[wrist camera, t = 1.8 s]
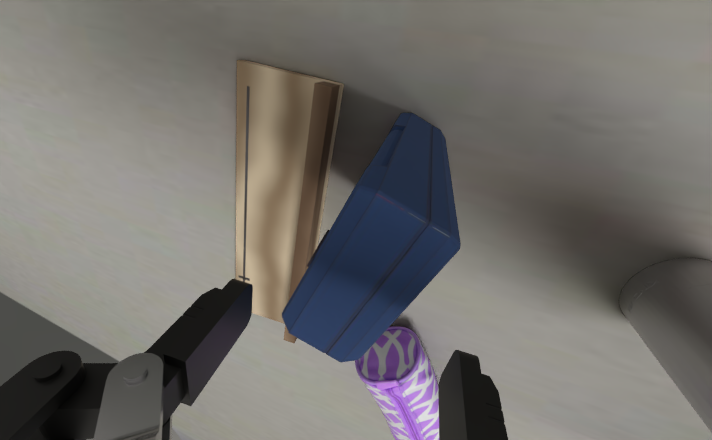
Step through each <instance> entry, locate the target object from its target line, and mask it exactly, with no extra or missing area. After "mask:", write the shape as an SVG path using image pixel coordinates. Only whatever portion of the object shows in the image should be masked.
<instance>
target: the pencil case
mask: <svg viewBox="0 0 712 440" xmlns="http://www.w3.org/2000/svg"><path fill="white" fill-rule="evenodd" d="M355 365H356V369H357V373H358V375H359V377H360V378H361V380H362V381H363V382H365V385H366V387H367V389H368V390H369V391H370V392H371V393H372V395H373V397H374V399H375V400H376V402H377V403H378V405H379V407H380V408H381V410H382V412H383V414H384V416H385V418H386V421H387V423H388V425H389V427H390V430H391V432H392V434H393V436H394V438H395V440H439V397H438V390H439V387H438V383H437V380H436V376H435V373H434V370H433V367H432V365H431V363H430V361H429V359H428V356H427V354H426V352H425V350H424V349H423V347H422V345H421V342H420V339H419V338H418V336H417V335H416V334H415V332H413V331H412V330H410V329H408V328H406V327H396V326H392V327H389V328H388V329H387V330H386V331H385V332H384V333H383V334H382V335H381V336H380V337H379V339H378V340H377V341H376V342H375V343H374V344H373V345H372V346H371V347H370V348H369V350H368V351H367V352H366V353H365V354H364V355H363V356H362V357H361V358H360V359H358V360H355Z"/></svg>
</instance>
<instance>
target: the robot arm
mask: <svg viewBox="0 0 712 440" xmlns="http://www.w3.org/2000/svg"><path fill="white" fill-rule="evenodd" d="M252 295H253V286H252V284H249V283H246V282H243V281H240V280H236V279H232V280H230V281H229V282H228V284H227V285H226V286H225V287H224V288H223V289H222V290H221V289H218V288H214V289H212V290H210V291H208V292H206V293H204V294H202V295H201V296H200V297H199V298H198V299H197V300H196V301H195V302H194V303H193V304H192V306H191V307H189V308H188V309H187V310H186V311H185V313H184V314H183V316H181V317H180V318H179V319H178V320H177V321H176V322H175V323H174V324H173V325H172V326H171V327H170V328H169V329H168V330H167V331H166V332H165V333H164V334H163V335H162V336H161V337H160V338H159V339H158V340H157V341H156V342H155V343H154V344H153V345H152V346H151V347H150V348H149V349H148V350H147V351H146V352H144V353H139V354H135V355H132V356H129V357H127V358H125V359H124V360H122V361H120V362H119V363H112V364H110V363H106V364H105V363H103V364H102V363H82V361H81V358H80V356H79V355H78V354H76V353H74V352H71V351H57V352H53V353H49V354H46V355H44V356H41V357H39V358H38V359H36V360H34V361H32V362H31V363H29V364H28V365H27V366H25V367H24V368H23V369H22V370H21V371H19V372H18V373H17V374H15V375H14V376H13V377H12V378H10V379H9V380H8V381H7V382H5V383H4V384H3V385H2V386H1V387H0V440H86V439H91V438H94V440H171V437H172V414H173V412H174V411H175V409H176V408H177V407H178V405H179V404H180V403H184V404H186V405H189V406H191V405H192V404H193V403H194V401H195V400H196V398H197V397H198V395H199V394H200V392H201V391H202V390H203V388H204V387H205V385H206V384H207V382H208V381H209V380H210V378H211V377H212V375H213V374H214V372H215V371H216V369H217V368H218V367H219V365H220V364H221V362H222V361H223V359H224V358H225V357H226V355H227V354H228V352H229V351H230V349H231V348H232V346H233V345H234V344H235V342H236V341H237V339H238V338H239V336H240V335H241V333H242V332H243V331H244V329H245V328H246V326H247V324H248V322H249V320H250V317H251V313H252ZM619 305H620V308H621V311H622V313H623V314H624V315H625V317H626V318H627V319H628V321H629V322H630V323H631V325H632V326H633V327H634V329H635V330H636V332H637V333H638V334H639V336H640V337H641V338H642V340H643V341H644V343H645V344H646V345H647V347H648V348H649V349H650V351H651V352H652V353H653V355H654V356H655V357H656V359H657V360H658V361H659V363H660V364H661V365H662V367H663V368H664V369H665V371H666V372H667V373H668V375H669V376H670V377H671V379H672V380H673V381H674V383H675V384H676V385H677V387H678V388H679V390H680V391H681V392H682V394H683V395H684V396H685V398H686V399H687V400H688V402H689V403H690V404H691V406H692V407H693V408H694V410H695V411H696V412H697V414H698V415H699V416H700V418H701V419H702V420H703V422H704V423H705V424H706V426H707V427H708V428H709V430H710V431H711V432H712V261H708V260H705V259H697V258H678V259H672V260H667V261H663V262H660V263H657V264H654V265H651V266H649V267H647V268H645V269H643V270H642V271H640V272H639V273H637V274H636V275H634V276H633V277H632V278H631V279H630V280H629V281H628V282H627V283H626V284H625V286H624V288H623V289H622V291H621V294H620V297H619ZM438 397H439V440H508V437H507V432H506V427H505V425H504V417H503V412H502V411H501V409H502V407H501V402H500V397H499V392H498V390H497V388H496V387H495V385H494V383H493V381H492V379H491V378H490V376H487V375H484V374H481V369H480V363H479V359H478V357H477V356H475V355H472V354H469V353H465V352H462V351H459V350H455V351H454V353H453V355H452V356H451V358H450V360H449V362H448V364H447V366H446V367H445V369H444V371H443V373H442V375H441V378H440V382H439V390H438Z"/></svg>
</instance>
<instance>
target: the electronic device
mask: <svg viewBox="0 0 712 440" xmlns="http://www.w3.org/2000/svg"><path fill="white" fill-rule="evenodd" d="M459 249H460V237H459V230H458V223H457V216H456V209H455V203H454V196H453V189H452V182H451V175H450V168H449V161H448V154H447V148H446V141H445V137H444V136H443V134H442V132H441V130H439V129H438V128H436V127H434V126H433V125H431V124H429V123H428V122H426V121H425V120H423V119H421V118H420V117H418V116H416V115H415V114H413V113H401V114H400V116H399V118H398V119H397V121H396V122H395V124H394V126H393V127H392V129H391V131H390V132H389V134H388V136H387V137H386V139H385V141H384V142H383V144H382V146H381V147H380V149H379V150H378V152H377V154H376V155H375V157H374V158H373V160H372V162H371V163H370V165H369V166H368V167H367V169H366V170H365V172H364V173H363V175H362V177H361V178H360V180H359V181H358V183H357V185H356V186H355V188H354V190H353V191H352V193H351V195H350V196H349V198H348V200H347V202H346V203H345V205H344V207H343V209H342V210H341V212H340V214H339V215H338V217H337V219H336V221H335V222H334V224H333V226H332V227H331V229H330V230H328V231H327V232H326V234H325V235H324V237H323V239H322V240H321V242H320V244H319V245H318V247H317V249H316V250H315V252H314V254H313V256H312V257H311V259H310V261H309V263H308V264H307V267H308V269H307V270H306V272H305V274H304V276H303V277H302V279H301V281H300V283H299V284H298V286H297V288H296V289H295V291H294V293H293V295H292V296H291V298H290V300H289V301H288V303H287V305H286V307H285V308H284V310H283V312H282V318H283V320H284V323H285V325H286V327H287V329H288V331H289V332H288V333H290V334H292V335H293V336H295V337H297V338H299V339H300V340H302V341H304V342H306V343H307V344H309V345H311V346H313V347H315V348H316V349H318V350H320V351H322V352H323V353H324V352H325V353H326V354H327V355H329V356H330V357H332V358H334V359H336V360H338V361H339V362H341V363H342V362H346V361H353V360H358V359H360V358H361V357H362V356H363V355H364V354H365V353H366V352H367V351H368V350H369V348H370V347H371V346H372V345H373V344H374V343H375V342H376V341H377V340H378V339H379V337H380V336H381V335H382V334H383V333H384V332H385V331H386V330H387V329H388V328H389V326H390V325H391V324H392V323H393V322H394V321H395V320H396V319H397V318H398V317H399V315H400V314H401V313H402V312H403V311H404V310H405V309H406V308H407V307H408V306H409V304H410V303H411V302H412V301H413V300H414V299H415V298H416V297H417V296H418V295H419V293H420V292H421V291H422V290H423V289H424V288H425V287H426V286H427V285H428V284H429V282H430V281H431V280H432V279H433V278H434V277H435V276H436V275H437V274H438V273H439V271H440V270H441V269H442V268H443V267H444V266H445V265H446V264H447V263H448V262H449V260H450V259H451V258H452V257H453V256H454V255H455V254H456V253H457V252H458V251H459Z"/></svg>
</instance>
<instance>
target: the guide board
mask: <svg viewBox="0 0 712 440" xmlns="http://www.w3.org/2000/svg"><path fill="white" fill-rule="evenodd" d="M343 88H344V84H342V83H338V82H334V81H329V80H325V79H321V78H317V77H313V76H309V75H305V74H301V73H296V72H292V71H288V70H284V69H280V68H276V67H272V66H268V65H263V64H259V63H255V62H251V61H247V60H237V132H236V280H240V281H243V282H246V283H249V284H252V286H253V295H252V313H254V314H257V315H260V316H263V317H266V318H269V319H272V320H275V321H278V322H281V323H284V320H283V318H282V312H283V310H284V308H285V307H286V305H287V303H288V301H289V300H290V298H291V296H292V295H293V293H294V291H295V289H296V288H297V286H298V284H299V283H300V281H301V279H302V277H303V276H304V274H305V272H306V270H307V269H308V267H307V264H308V263H309V261H310V259H311V257H312V256H313V254H314V252H315V250H316V249H317V246H318V240H319V234H320V228H321V222H322V216H323V210H324V204H325V198H326V191H327V185H328V179H329V173H330V167H331V161H332V155H333V149H334V143H335V137H336V131H337V124H338V118H339V112H340V106H341V100H342V94H343ZM284 324H285V323H284ZM288 332H289V331H288V329H287V327H286V325H285V334H284V340H286V341H289V342H292V343H295V341H296V339H297V337H295V336H293V335H292V334H290V333H288Z"/></svg>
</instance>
